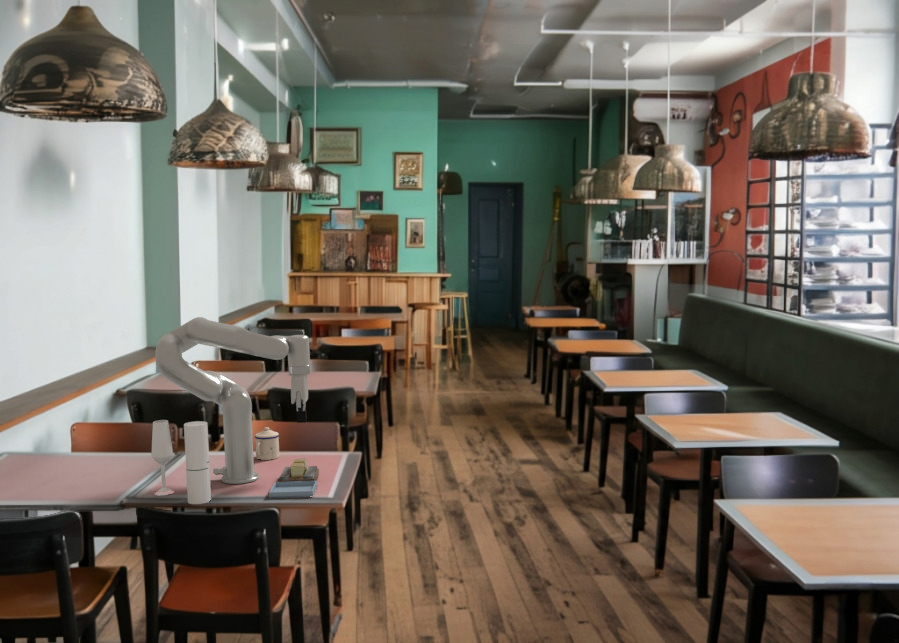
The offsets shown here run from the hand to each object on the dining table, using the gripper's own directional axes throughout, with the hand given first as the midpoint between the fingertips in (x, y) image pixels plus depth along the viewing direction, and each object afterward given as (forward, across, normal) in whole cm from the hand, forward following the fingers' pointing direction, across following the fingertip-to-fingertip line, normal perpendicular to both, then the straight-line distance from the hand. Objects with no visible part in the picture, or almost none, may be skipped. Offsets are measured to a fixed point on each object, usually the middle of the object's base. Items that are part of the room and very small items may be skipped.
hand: (301, 421), depth 302 cm
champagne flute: (+18, +20, -43) cm, 51 cm away
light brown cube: (+16, +7, 0) cm, 17 cm away
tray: (+18, +24, 0) cm, 30 cm away
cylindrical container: (+18, +30, -29) cm, 46 cm away
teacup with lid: (+19, -23, -18) cm, 34 cm away
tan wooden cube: (+16, +13, 0) cm, 20 cm away
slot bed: (+18, +11, 0) cm, 21 cm away
